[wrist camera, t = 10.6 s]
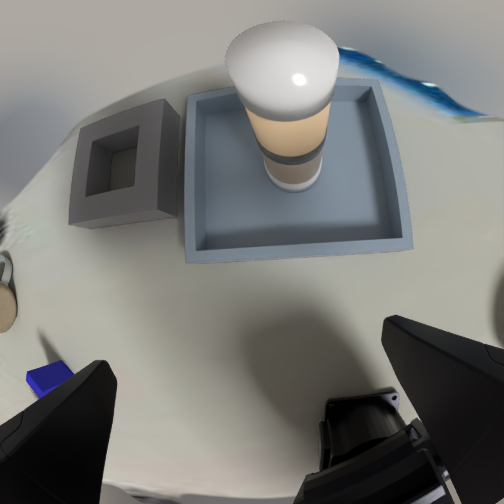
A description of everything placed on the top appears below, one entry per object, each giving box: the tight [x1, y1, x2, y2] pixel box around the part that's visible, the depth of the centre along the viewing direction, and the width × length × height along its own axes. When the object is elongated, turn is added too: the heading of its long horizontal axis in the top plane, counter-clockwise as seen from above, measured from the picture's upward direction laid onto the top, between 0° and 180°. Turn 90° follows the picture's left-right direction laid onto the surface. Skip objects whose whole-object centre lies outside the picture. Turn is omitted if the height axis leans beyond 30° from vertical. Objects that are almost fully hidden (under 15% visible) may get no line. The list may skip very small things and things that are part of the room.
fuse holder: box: [68, 98, 180, 229], centre depth 22 cm, size 10×10×4 cm
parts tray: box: [184, 78, 414, 264], centre depth 20 cm, size 16×14×3 cm
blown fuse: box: [225, 21, 339, 193], centre depth 14 cm, size 4×4×13 cm
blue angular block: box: [26, 360, 74, 398], centre depth 22 cm, size 12×4×6 cm, turn 149°
